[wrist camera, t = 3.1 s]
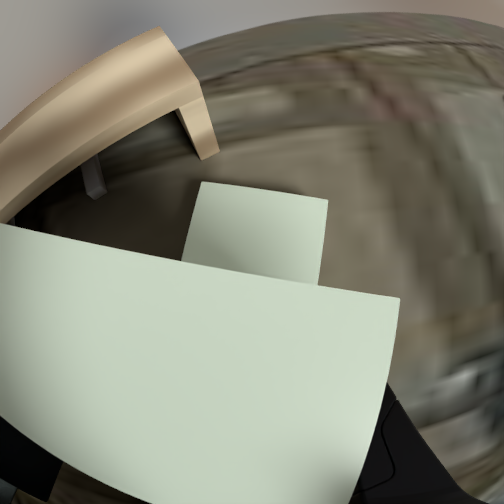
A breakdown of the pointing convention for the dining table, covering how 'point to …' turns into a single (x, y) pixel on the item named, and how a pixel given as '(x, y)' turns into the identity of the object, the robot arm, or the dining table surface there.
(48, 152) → the beige u-shaped channel
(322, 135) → the dining table surface
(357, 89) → the dining table surface
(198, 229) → the sage green flanged block
